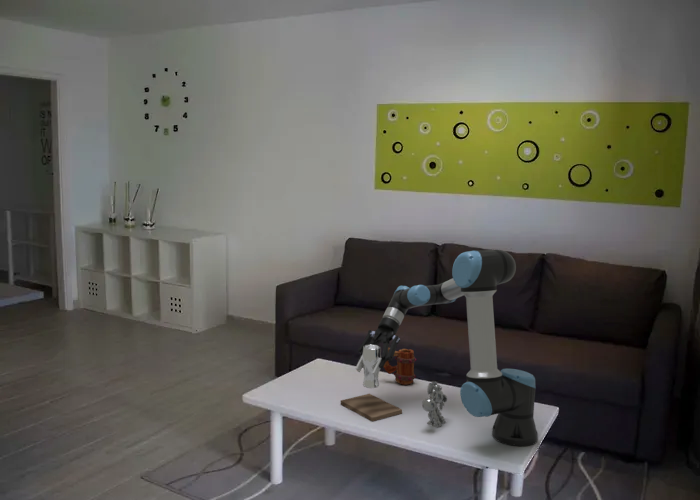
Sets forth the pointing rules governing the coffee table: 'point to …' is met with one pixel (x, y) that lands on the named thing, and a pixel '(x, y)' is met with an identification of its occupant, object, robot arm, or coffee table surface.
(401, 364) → the mug
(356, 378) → the coffee table surface
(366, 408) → the serving board
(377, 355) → the beer glass
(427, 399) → the robot toy
